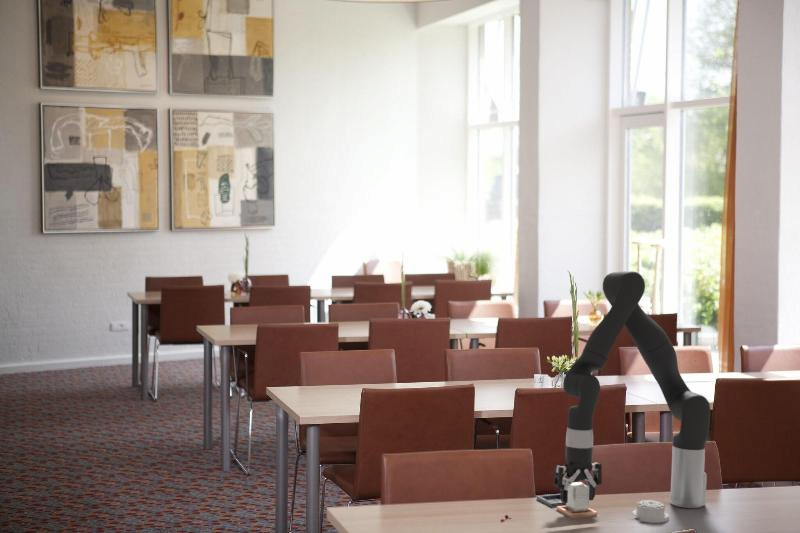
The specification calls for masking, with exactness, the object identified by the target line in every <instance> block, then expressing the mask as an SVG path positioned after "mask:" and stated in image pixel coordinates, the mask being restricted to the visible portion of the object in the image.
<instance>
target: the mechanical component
mask: <svg viewBox="0 0 800 533" xmlns="http://www.w3.org/2000/svg"><path fill="white" fill-rule="evenodd" d="M665 506H666V505H665V503H663V502H662V503H661V501H656V500H651V499H649V500H648V499H645V500H640V501H637V502H636V509H634V510H632V514H633V515H634V516H635V517H634V520H636V521H640V522H645V523H654V524H660V523H666V522H668V521H669V519H670V515H669V513H668V512H665Z"/></svg>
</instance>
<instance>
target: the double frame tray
mask: <svg viewBox="0 0 800 533" xmlns="http://www.w3.org/2000/svg"><path fill="white" fill-rule="evenodd" d="M535 501H537V502H539V503H541V504H542V505H544V506H546V507H548V508H550V509H552V510H554V511H555V512H558V513H560V514H561V515H563V516H566V517H567V518H570V519H571V520H574V521H575V520H580V519H581V520H582V519H590V518H591V519H592V518H598V517H599V518H601V515H598V511H596V510H594V509H592V508H590V507H589V509H588V512H583V513H574V514H573V513H571V512H569V511H567V510H566V503H563V502H562V501H561V500H560V493H556V494H544V495H536V499H535Z"/></svg>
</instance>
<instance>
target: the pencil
mask: <svg viewBox="0 0 800 533" xmlns="http://www.w3.org/2000/svg"><path fill="white" fill-rule="evenodd" d="M508 516H509V515H507V514H505V515H504V516H503V517H502V518H501V519H500V522H501V521H504V522H505V521H506V520H507V519H508V518H509V517H508ZM507 517H508V518H507ZM506 518H507V519H506ZM505 519H506V520H505Z"/></svg>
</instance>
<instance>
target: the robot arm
mask: <svg viewBox="0 0 800 533" xmlns="http://www.w3.org/2000/svg"><path fill="white" fill-rule="evenodd" d="M602 290H603V294H604V296H605V299H606V300H607V301H608V303H609V304H610V306H611V307H610V309H609V311H608V312H607V314H606V315H605V316H604V317H603V319H602V320H601V321H600V322H599V323H598V324H597V325H596V327H595V328H594V329H593V330H592V332H591V334H590V335H589V336H588V338H587V341H586V343H585V346H584V347H583V350H582V351H581V355H580V356H579V357H578V358H577V360H576V361H575V362H574V363H573V365H571V367H570V368H569V370H568V371H566V372H567V373H566V374H565V376H564V378H563V383H562V384H563V385H562V386H563V391H564V393H565V394H567V396H570V397H573V398H578V399H579V401H578V405H573V406H570V407H569V409H568V411H567V427H566V433H565V434H566V435H565V451H564V452H565V454H564V455H565V456H564V458H565V464H564V465H562V466H561V465H558V464H557V465H555V467H554V468H555V469H554V479H553V486H554V487H556V488H558V489H559V494H560V500H561V501H562V502H563V503H567V502H568V490H567V489H568V487H569V486H570V484H572V483H574V482H579V481H585V482H586V483H587V485H588V486H589V501H594V499H595V498H596V497H595V496H596V488H597V486H601V485H602V483H603V480H602V478H603V476H602V475H603V474H602V471H603V469H602V467H603V466H602V464H601V463H599V462H597V461H594V462H593V459H594V458H593V456H594V454H593V453H594V413H595V410H596V407H597V404H598V401H599V397H600V394H601V384H600V381H599V379H598V377H597V376H595V375H593V374H592V372H594V371H600V370H602V369H604V367H605V365H606V362H607V360H608V358H609V356H610V353H611V351H612V348H613V346H614V344H615V342H616V340H617V339H618V336H619V334H620V333H621V331H622V329H623V328H624V326H625V329H626V330H627V332H628V334H629V336H630V337H631V338H632V341H633V342H634V344H635V346H636V348H637V350H638V352H639V354H640V356H641V357H642V360H643V361H644V362H645V364H646V366H647V367H648V369H649V371H650V373H651V375H652V377H653V378H654V379H655V381H656V383H657V384H658V386H659V388H660V391H661V393H662V395H663V397H664V400H665V401H666V404H667V407H668V409H669V411H670V413H671V415H672V416H673V417H674V418H675V419H676V420H678V421H680V428H679V429H680V430H679V432H678V433H676V434H674V435H673V437H672V450H671V452H672V453H671V476H670V477H671V478H670V497H669V500H670V501H669V502H670V504H671V505H673V506H674V507H675V506H676V507H679V508H685V509H698V508H702V507H703V506H706V497H707V495H706V494H707V479H708V478H707V477H708V475H707V473H706V472H705V463H706V462H705V459H706V458H705V457H706V443H707V440H708V438H709V434H710V425H711V405H710V402H709V400H708V399H707V397H705V396H703V395H701V394H698V393H696V392H693V391H692V390H690V388H689V387H688V385H687V384H686V382H685V380H684V379H683V377H682V376H681V373H680V370H679V366H678V356H677V352H676V350H675V347H674V345H673V343H672V341H671V340H670V338H669V337H668V336H669V335H667V333H666V332H665V330H664V329H663V328H662V326H660V325H659V324H658V323H657V322H656V321H655V320H654V319H652V318H651V317H650V316H649V315H648V314H647V313H646V312H645V311H644V310H643V309H642V307H641V306H640V305H639V303H640V301H641V299H642V297H643V296H644V293H645V290H646V282H645V280H644V277H643V275H641V274H640V273H639V272H637V271H634V270H624V271H614V272H610V273H608V274H607V275H606V276H604V278H603V281H602ZM591 471H592V475H591Z"/></svg>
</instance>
